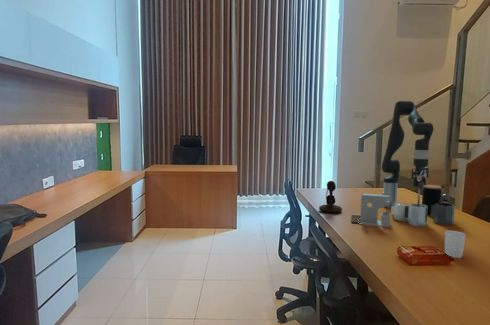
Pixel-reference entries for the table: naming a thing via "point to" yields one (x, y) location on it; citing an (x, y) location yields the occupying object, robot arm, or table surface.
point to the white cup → (454, 243)
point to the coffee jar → (431, 196)
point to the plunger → (420, 185)
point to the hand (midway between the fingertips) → (419, 185)
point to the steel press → (416, 214)
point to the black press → (443, 211)
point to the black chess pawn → (330, 200)
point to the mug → (399, 211)
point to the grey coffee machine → (374, 210)
